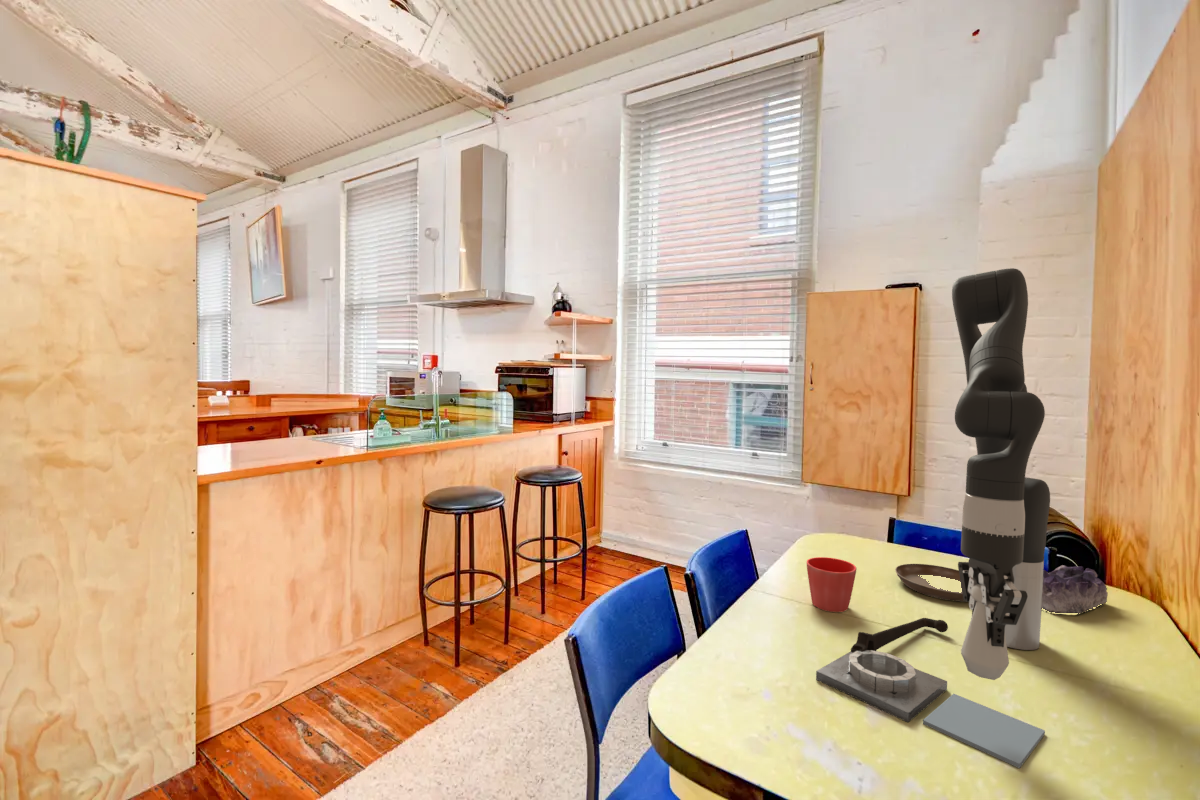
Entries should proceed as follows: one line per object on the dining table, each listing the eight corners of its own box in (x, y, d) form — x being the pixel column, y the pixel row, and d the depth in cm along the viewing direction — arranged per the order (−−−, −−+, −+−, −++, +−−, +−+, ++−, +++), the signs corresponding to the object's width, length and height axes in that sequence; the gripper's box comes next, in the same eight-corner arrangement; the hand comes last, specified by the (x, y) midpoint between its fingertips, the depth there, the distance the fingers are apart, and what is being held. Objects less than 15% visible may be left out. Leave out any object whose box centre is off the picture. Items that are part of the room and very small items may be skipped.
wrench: (950, 641, 114) (875, 674, 96) (923, 633, 118) (847, 664, 100) (949, 614, 114) (875, 642, 97) (923, 608, 118) (847, 634, 101)
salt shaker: (1014, 677, 82) (1022, 590, 81) (995, 687, 79) (1003, 596, 78) (971, 659, 87) (978, 577, 86) (952, 667, 84) (959, 582, 83)
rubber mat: (953, 697, 91) (953, 693, 91) (1044, 734, 82) (1044, 730, 82) (922, 723, 84) (923, 719, 84) (1019, 768, 74) (1019, 763, 74)
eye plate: (858, 654, 105) (859, 636, 105) (946, 689, 93) (947, 669, 93) (816, 679, 96) (816, 659, 96) (908, 722, 84) (909, 699, 84)
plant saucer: (988, 586, 144) (989, 573, 144) (993, 613, 127) (993, 599, 126) (898, 570, 155) (898, 558, 155) (891, 593, 138) (891, 580, 138)
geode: (1087, 625, 121) (1081, 579, 122) (1025, 613, 131) (1019, 570, 131) (1118, 603, 132) (1112, 561, 133) (1058, 594, 142) (1053, 554, 142)
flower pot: (804, 610, 125) (805, 567, 125) (805, 593, 135) (807, 554, 135) (856, 619, 121) (857, 575, 121) (853, 601, 131) (855, 560, 131)
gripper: (1053, 541, 75) (1046, 668, 75) (991, 516, 88) (986, 623, 89) (993, 538, 75) (987, 663, 76) (941, 514, 89) (936, 620, 90)
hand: (986, 641), depth 83 cm, fingers closed on salt shaker, 3 cm apart
